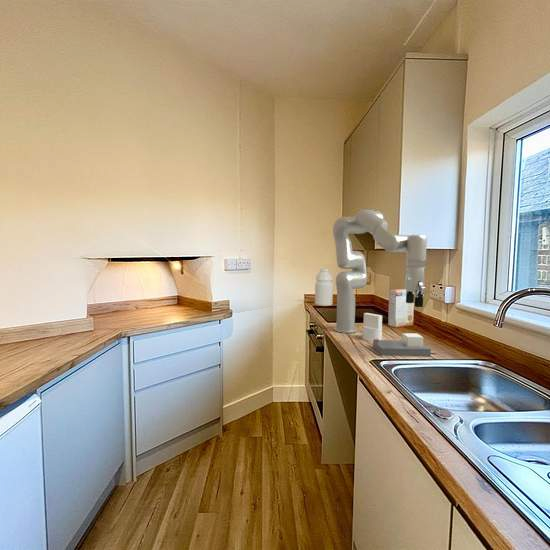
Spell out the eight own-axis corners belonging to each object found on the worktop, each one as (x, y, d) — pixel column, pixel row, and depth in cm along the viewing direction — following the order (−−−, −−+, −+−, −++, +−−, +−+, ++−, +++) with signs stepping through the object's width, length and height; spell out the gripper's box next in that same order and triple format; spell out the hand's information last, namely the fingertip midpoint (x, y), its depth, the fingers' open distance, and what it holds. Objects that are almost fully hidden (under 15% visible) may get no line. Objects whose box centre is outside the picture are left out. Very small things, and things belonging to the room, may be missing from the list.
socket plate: (372, 346, 152) (373, 338, 151) (417, 347, 151) (418, 338, 151) (381, 355, 139) (381, 346, 138) (430, 356, 138) (431, 347, 138)
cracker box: (405, 323, 200) (406, 288, 198) (413, 325, 194) (415, 289, 192) (387, 325, 193) (388, 289, 192) (395, 327, 188) (396, 290, 186)
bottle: (312, 303, 270) (312, 268, 268) (328, 302, 273) (329, 268, 271) (318, 306, 256) (319, 269, 254) (335, 305, 260) (336, 269, 258)
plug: (402, 347, 148) (402, 333, 147) (416, 348, 148) (417, 333, 147) (407, 352, 142) (407, 337, 141) (422, 352, 141) (423, 337, 141)
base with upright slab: (358, 338, 165) (359, 314, 164) (370, 335, 171) (370, 312, 170) (374, 342, 158) (374, 317, 157) (385, 339, 164) (386, 315, 163)
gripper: (399, 263, 151) (398, 301, 152) (414, 265, 133) (412, 308, 135) (416, 263, 150) (415, 301, 152) (434, 265, 133) (431, 308, 135)
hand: (414, 304), depth 143 cm, fingers open, 9 cm apart
